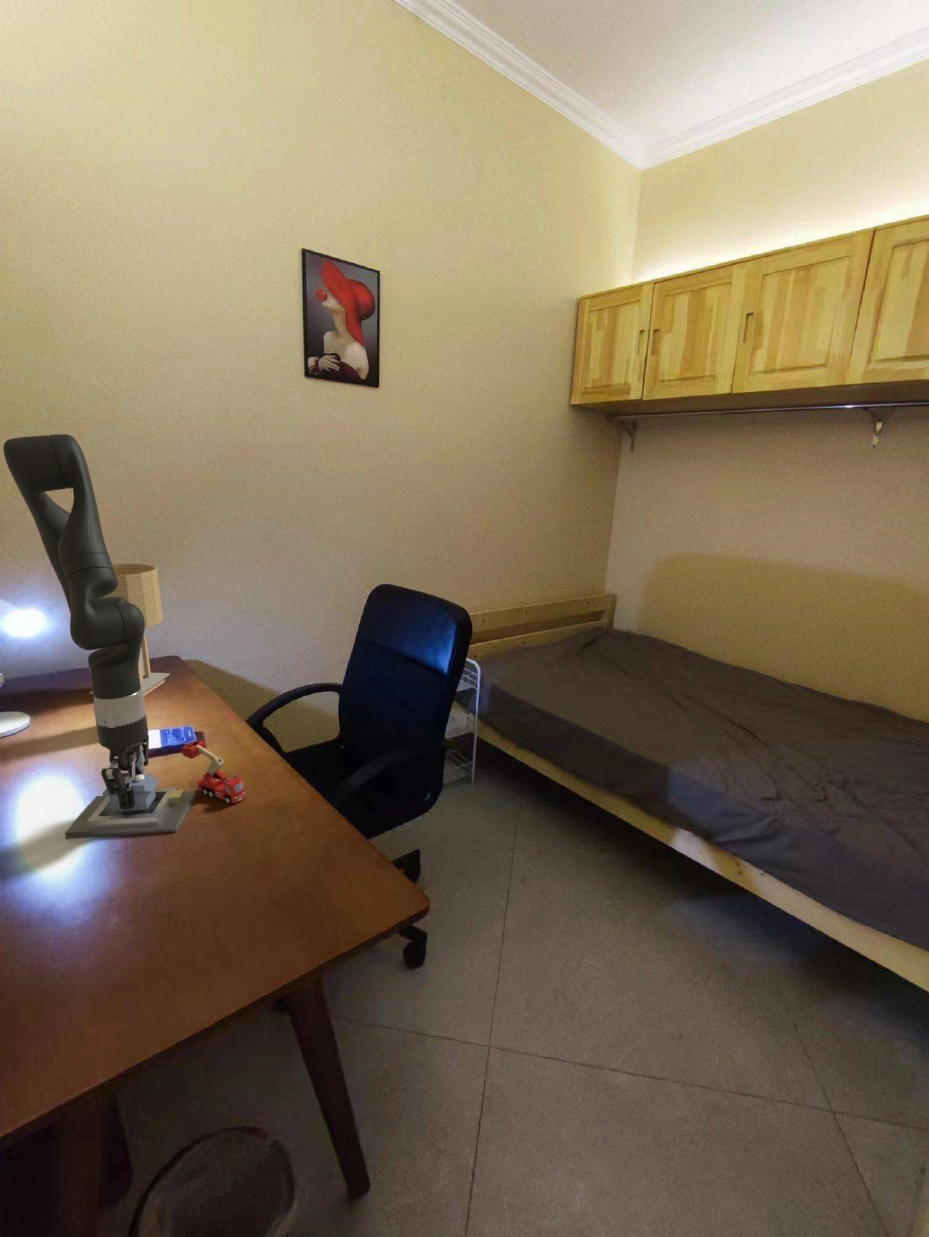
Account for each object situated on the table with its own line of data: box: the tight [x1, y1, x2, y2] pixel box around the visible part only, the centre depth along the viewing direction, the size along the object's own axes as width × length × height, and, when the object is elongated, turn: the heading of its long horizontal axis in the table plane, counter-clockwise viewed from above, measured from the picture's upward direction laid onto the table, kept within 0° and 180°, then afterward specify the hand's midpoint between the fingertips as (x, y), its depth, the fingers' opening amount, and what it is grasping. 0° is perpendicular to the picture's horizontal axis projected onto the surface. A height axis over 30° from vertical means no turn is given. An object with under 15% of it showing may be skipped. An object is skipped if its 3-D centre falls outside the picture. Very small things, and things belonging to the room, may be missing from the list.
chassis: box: [64, 787, 197, 840], centre depth 100 cm, size 11×18×3 cm, turn 99°
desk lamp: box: [89, 563, 170, 697], centre depth 152 cm, size 20×20×35 cm
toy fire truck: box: [181, 740, 246, 804], centre depth 108 cm, size 3×14×10 cm, turn 65°
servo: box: [102, 773, 160, 812], centre depth 100 cm, size 4×8×6 cm, turn 99°
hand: (133, 799), depth 100 cm, fingers open, 4 cm apart
